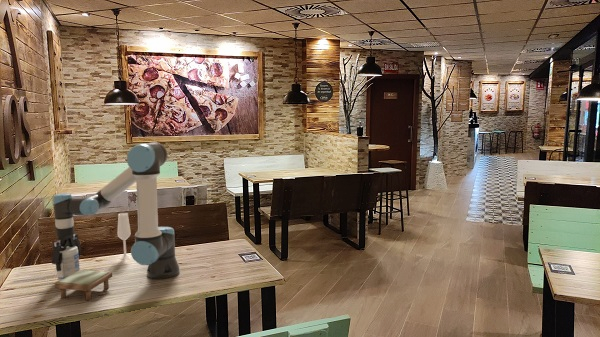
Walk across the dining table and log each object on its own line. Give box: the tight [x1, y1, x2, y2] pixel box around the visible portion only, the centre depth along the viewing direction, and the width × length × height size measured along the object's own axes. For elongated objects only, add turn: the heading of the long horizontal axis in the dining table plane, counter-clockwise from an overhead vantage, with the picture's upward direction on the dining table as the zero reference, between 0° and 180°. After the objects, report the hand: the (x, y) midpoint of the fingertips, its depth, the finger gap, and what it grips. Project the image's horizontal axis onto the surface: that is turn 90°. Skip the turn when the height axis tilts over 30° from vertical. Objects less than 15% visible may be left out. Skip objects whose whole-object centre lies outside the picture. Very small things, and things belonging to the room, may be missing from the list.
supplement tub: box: [56, 246, 81, 282], centre depth 204 cm, size 10×10×15 cm
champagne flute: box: [117, 212, 132, 260], centre depth 235 cm, size 7×7×24 cm
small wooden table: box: [54, 269, 113, 302], centre depth 190 cm, size 16×16×7 cm
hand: (68, 273), depth 205 cm, fingers closed on supplement tub, 9 cm apart
